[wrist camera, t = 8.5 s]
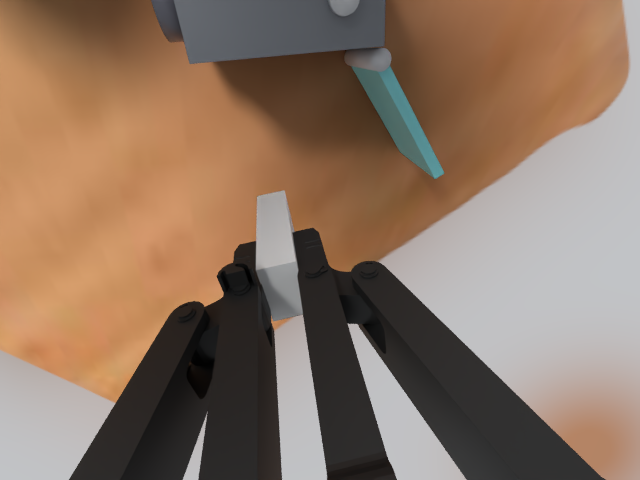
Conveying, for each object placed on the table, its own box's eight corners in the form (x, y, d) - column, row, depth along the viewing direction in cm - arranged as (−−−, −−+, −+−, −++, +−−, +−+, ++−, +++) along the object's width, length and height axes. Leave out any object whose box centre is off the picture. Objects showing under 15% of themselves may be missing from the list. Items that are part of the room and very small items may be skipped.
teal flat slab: (398, 153, 39) (434, 182, 31) (341, 55, 33) (367, 57, 25) (413, 143, 39) (454, 169, 30) (358, 41, 33) (390, 38, 24)
